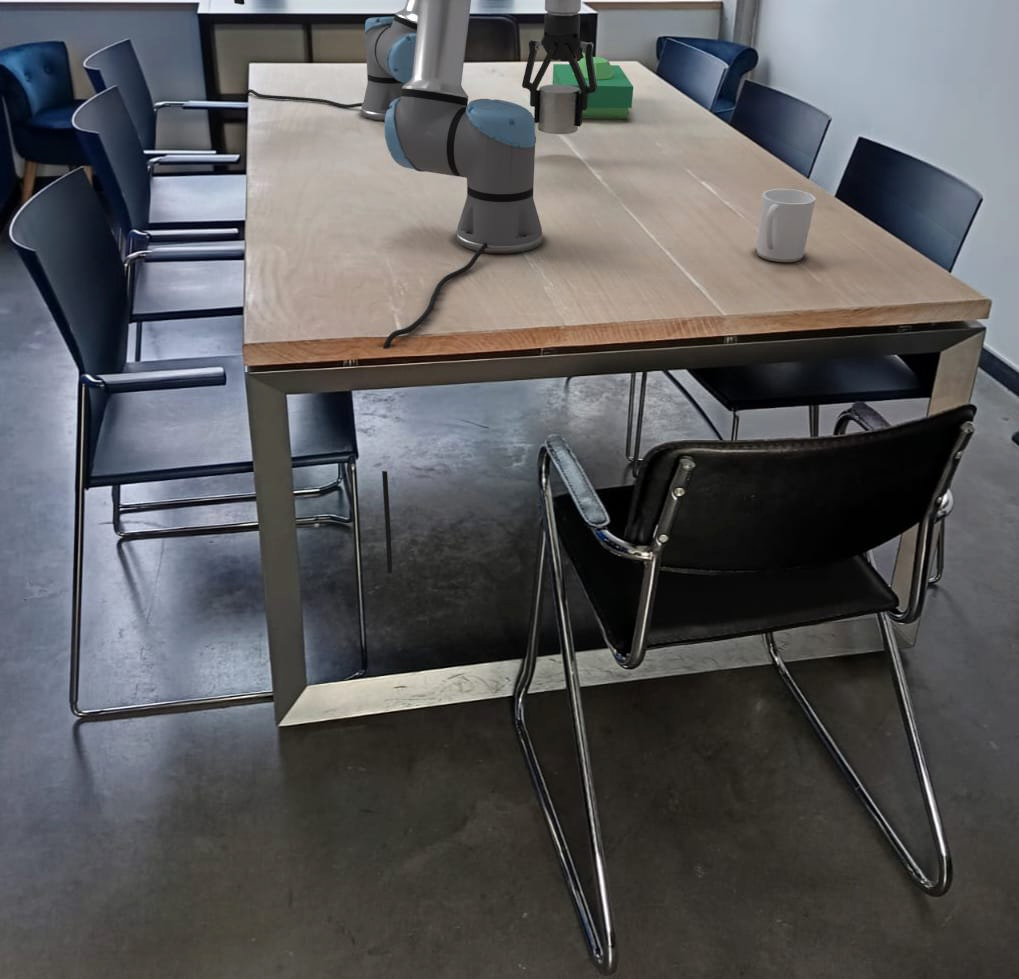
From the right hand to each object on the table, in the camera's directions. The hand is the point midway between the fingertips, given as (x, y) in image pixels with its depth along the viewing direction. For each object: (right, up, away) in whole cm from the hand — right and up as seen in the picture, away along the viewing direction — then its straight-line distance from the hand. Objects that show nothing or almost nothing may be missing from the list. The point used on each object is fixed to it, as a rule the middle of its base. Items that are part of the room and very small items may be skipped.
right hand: (558, 123), depth 241 cm
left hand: (-64, +26, -1) cm, 69 cm away
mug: (+36, -40, -50) cm, 73 cm away
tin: (0, -1, +1) cm, 1 cm away
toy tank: (+10, +21, +48) cm, 54 cm away
